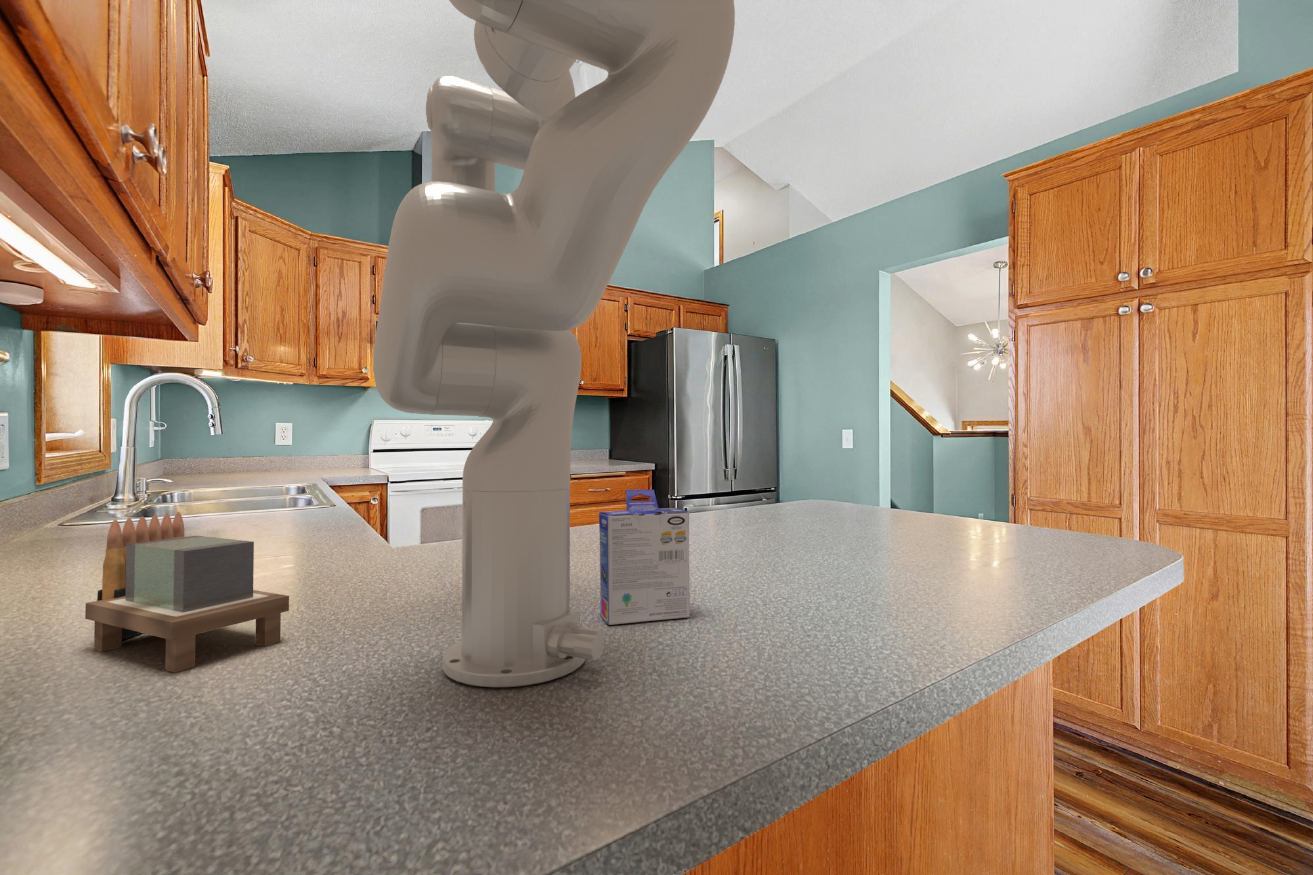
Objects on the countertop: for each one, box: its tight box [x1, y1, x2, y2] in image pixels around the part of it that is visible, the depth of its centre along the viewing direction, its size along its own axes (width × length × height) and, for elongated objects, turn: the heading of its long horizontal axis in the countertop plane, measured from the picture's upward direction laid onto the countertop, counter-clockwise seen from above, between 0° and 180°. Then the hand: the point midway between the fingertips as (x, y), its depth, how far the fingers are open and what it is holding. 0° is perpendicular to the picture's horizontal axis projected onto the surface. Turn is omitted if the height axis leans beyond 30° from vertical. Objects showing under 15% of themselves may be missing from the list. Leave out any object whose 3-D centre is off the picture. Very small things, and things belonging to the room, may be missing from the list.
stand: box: [84, 589, 290, 674], centre depth 57 cm, size 15×10×5 cm, turn 65°
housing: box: [125, 535, 255, 612], centre depth 57 cm, size 6×10×6 cm, turn 65°
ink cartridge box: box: [598, 489, 691, 626], centre depth 68 cm, size 10×6×14 cm, turn 108°
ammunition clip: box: [96, 511, 186, 641], centre depth 63 cm, size 11×2×12 cm, turn 5°
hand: (462, 359), depth 72 cm, fingers open, 9 cm apart
